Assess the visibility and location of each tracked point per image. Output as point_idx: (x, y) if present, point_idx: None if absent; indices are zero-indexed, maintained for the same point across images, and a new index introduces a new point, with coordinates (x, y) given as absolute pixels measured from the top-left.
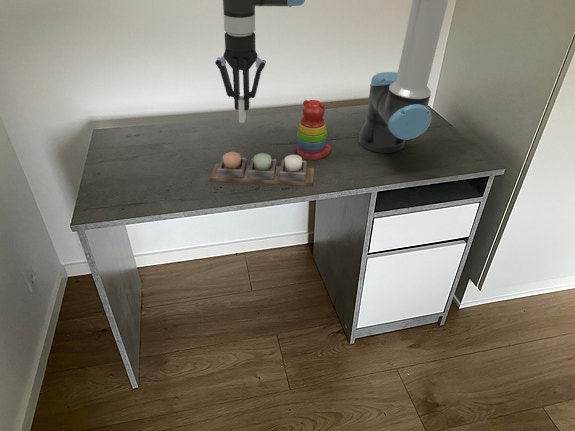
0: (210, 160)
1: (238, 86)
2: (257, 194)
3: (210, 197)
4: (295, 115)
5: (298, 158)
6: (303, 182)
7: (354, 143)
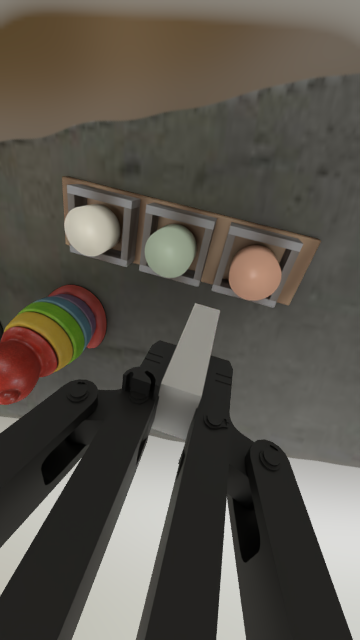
0: (294, 328)
1: (169, 521)
2: (203, 147)
3: (344, 144)
4: None
5: (74, 234)
6: (84, 181)
7: None
